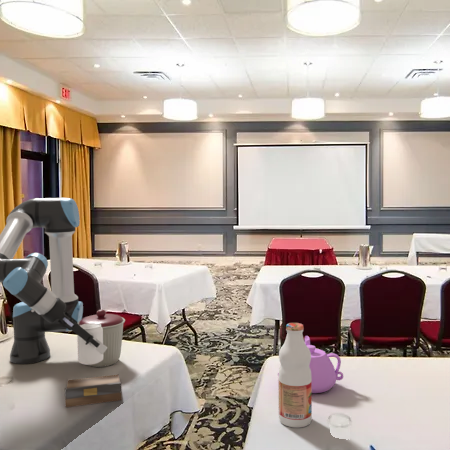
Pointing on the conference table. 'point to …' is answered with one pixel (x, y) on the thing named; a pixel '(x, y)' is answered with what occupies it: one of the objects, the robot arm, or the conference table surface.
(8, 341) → the conference table surface
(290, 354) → the fruit juice
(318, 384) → the teapot
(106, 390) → the shelf board
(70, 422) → the conference table surface
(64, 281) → the robot arm
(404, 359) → the conference table surface
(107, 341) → the canister
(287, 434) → the conference table surface
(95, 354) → the beverage can
